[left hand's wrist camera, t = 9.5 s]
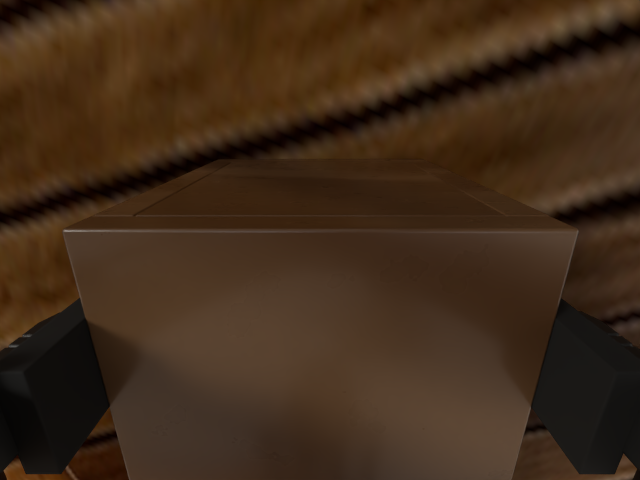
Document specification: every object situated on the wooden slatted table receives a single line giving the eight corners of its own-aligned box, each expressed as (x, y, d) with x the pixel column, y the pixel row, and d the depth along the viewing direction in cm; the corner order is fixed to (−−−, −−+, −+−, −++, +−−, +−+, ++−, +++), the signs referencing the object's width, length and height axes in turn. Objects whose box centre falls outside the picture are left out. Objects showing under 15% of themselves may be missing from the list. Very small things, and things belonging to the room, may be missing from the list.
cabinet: (398, 405, 24) (465, 654, 13) (242, 404, 25) (175, 653, 13) (423, 159, 19) (582, 229, 7) (217, 159, 19) (59, 228, 7)
